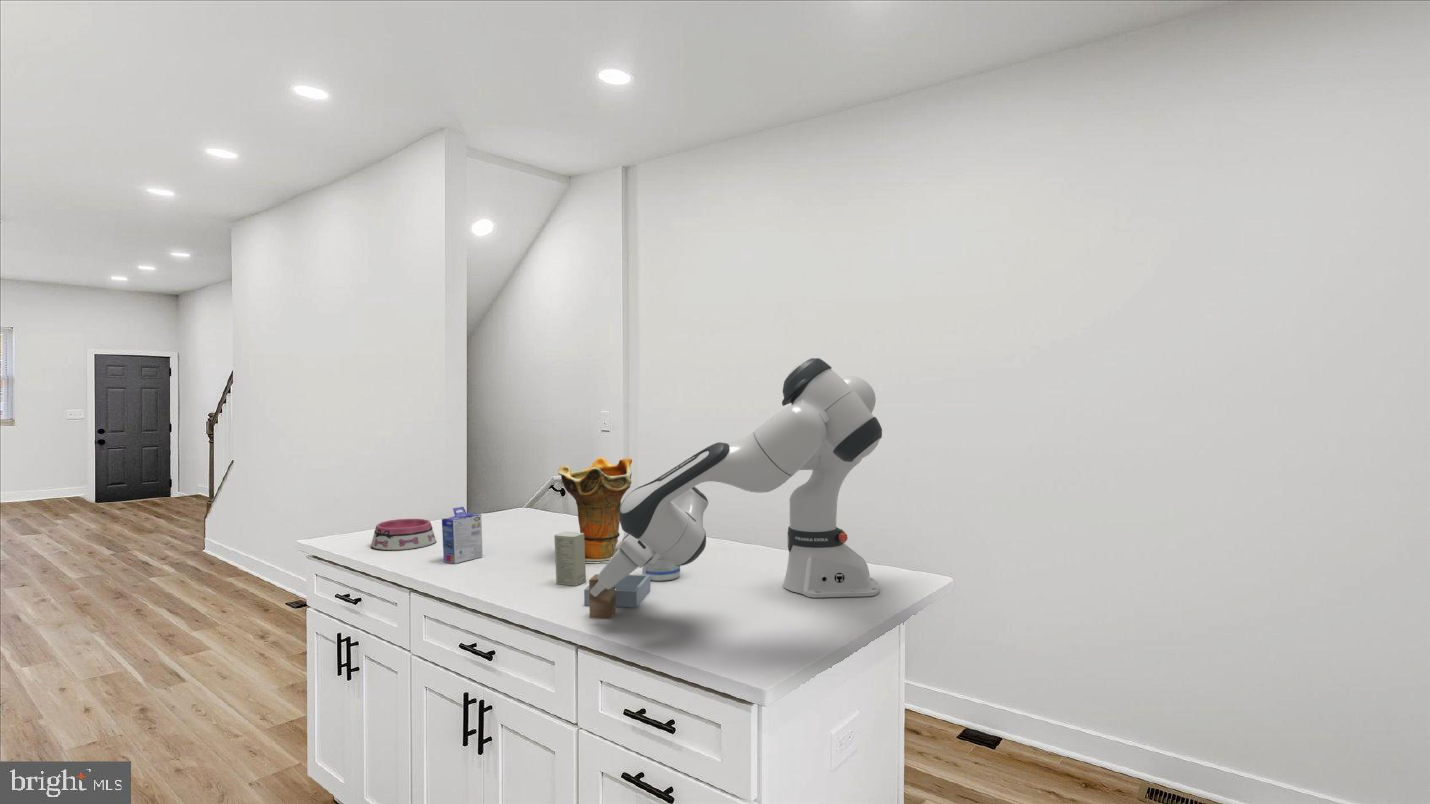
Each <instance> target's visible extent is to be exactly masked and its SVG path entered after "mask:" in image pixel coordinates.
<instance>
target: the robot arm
mask: <svg viewBox="0 0 1430 804" xmlns="http://www.w3.org/2000/svg"><path fill="white" fill-rule="evenodd" d="M782 385H783V387H782V395H783V399H782V400H781V401H782V402H781V404H782V407H785V406H786V405H789V404H791V405H789V406H787V407H785V408H783V409H782V410H780V411H779V412H777V413H776V414H774V415H773V416H772V417H770V418H769V419H767V420H766V421H764V422H763V423H762V424H761V425H759V426H758V427H757V428H756V429H755V430H754V431H753V432H751V433H750V434H748V435H747V436H745V437H743V438H741V439H739V440H736V441H732V442H721V441H720V442H716V443H712V444H711V445H709V446H707V447H705V448H704V449H702V450H700V451H698V452H696V453H695V454H693V455H691V456H690V457H689V458H686V459H685V460H684V461H682V462H681V463H679V464H678V465H676V466H674V467H673V468H671V469H670V470H669V471H667V472H665V473H664V474H662V475H660V476H659V477H657V478H654V480H652V481H650V482H648V483H645V484H643V485H641V486H638V487H636V488H635V489H634V490H632V491H631V492H629V493H628V494H627V495H626V496H625V498H624V499H623V500H622V501H621V505H620V508H619V519H620V523H619V525H620V526H621V530H622V531H623V538H622V540H621V542H619V544H618V547H619V548H618V549H617V552H616V553H615V554H614V555H613V557H612V558H611V559H610V560H609V562H606V564H605V565H604V566H603V568H602V569H601V571H600V572H599V573H598V574H599V575H598V576H597V579H598V580H599V581H598V582H597V583H596V585H595V586H594V587H593V588H592V589H591V590H590V593H591V594H592V595H593V596H594V597H596V596H597V595H598V594H599V593H600V592H602V591H603V590H604V589H605V588H606V589H611V588H612V587H614V586H615V585H617V584H618V583H619V582H620V581H622V580H623V579H624V578H625V577H627V576H628V575H631V574H632V572H634V571H635V570H636V569H638V568H640V569H641V568H642V566H644V565H646V564H649V563H654V562H655V561H656V560H657V559H658V558H659V557H660V556H662V557H663V558H665V559H666V560H668V561H669V562H670V563H672V564H675V565H676V566H680V567H682V566H687V565H689V564H691V563H693V562H694V561H695V560H697V559H698V558H699V557H700V555H701V554H702V553H703V552H704V550H705V549H706V545H707V534H706V530H705V529H704V514H705V512H706V510H707V507H708V506H709V500H708V498H707V496H706V495H705V494H704V493H703V492H701V491H700V489H698V488H697V487H696V486H697V485H699V484H702V483H705V482H715V483H721V484H725V485H729V486H732V487H735V488H738V489H740V490H743V491H747V492H750V493H761V494H762V493H763V494H764V493H769V492H772V491H774V490H776V489H778V488H779V487H781V486H782V485H783V484H785V483H786V482H787V481H789V480H790V478H792V477H793V476H794V475H796V473H798V472H799V471H812V472H811V475H810V476H809V479H808V480H807V481H806V482H805V483H803V484H801V485H800V486H798V487H796V488H795V489H794V490H793V491H792V493H791V495H790V497H789V526H788V527H787V528H788V529H787V532H786V533H787V536H786V539H787V541H786V542H787V550H788V558H787V559H788V560H787V565H786V572H785V576H784V581H783V584H782V587H783V588H784V589H786V590H787V591H790V592H794V593H798V594H802V595H804V596H805V597H808V598H814V599H815V598H850V597H853V598H854V597H855V598H856V597H857V598H858V597H875V596H876V595H878V594H879V593H880V585H879V582H878V580H876V579H875V578H873V577H871V574H870V569H869V566H868V564H867V562H866V559H864V558H863V557H862V556H861V555H860V554H859V553H857V551H855V550H854V549H852V548H851V547H849V546H848V544H846V542H847V541H848V534H847V533H846V531H844V530H843V529H842V528H839V527H838V526H837V515H838V514H837V511H838V510H837V509H838V497H839V493H840V490H841V488H842V484H843V482H844V481H845V478H846V477H847V475H848V474H849V473H850V472H851V471H852V470H853V469H854V468H855V467H856V466H858V465H859V464H860V463H861V461H862V460H863V458H866V457H867V456H869V455H870V454H871V453H873V451H874V450H875V449H876V448H877V447H878V444H879V442H880V440H881V439H882V438H883V429H882V425H881V424H880V422H879V420H878V418H877V416H874V415H873V411H874V409H875V408H876V407H875V406H876V402H877V401H876V399H877V397H876V393H875V391H874V389H873V387H872V385H870V383H868V381H867V380H865V379H863V378H861V377H858V376H846V377H843V378H841V377H840V376H839V375H838V374H837V373H836V372H835V371H834V370H833V369H832V366H831V365H830V364H828V363H827V362H826V361H825V360H823V359H821V358H819V357H816V358H813V357H811V358H810V359H807V360H805V361H802V362H800V363H799V364H797V365H795V366H794V367H793V368H792V369H791V370H790V372H789V373H788V375H787V376H786V378H785V380H784V381H783V384H782Z"/></svg>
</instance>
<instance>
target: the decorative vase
mask: <svg viewBox="0 0 1430 804" xmlns="http://www.w3.org/2000/svg"><path fill="white" fill-rule="evenodd" d="M632 462H633V459H632V458H622V459H620V460H619V461H618V463H617V464H615V465H613V464H611V463H610V462H609V461H607V459H606V458H604V457H602V456H601V457H598V458H596V459H595V460H594V461H593V463H592V464H591V466H590V467H589V466H588V467H587V468H585V469H580V470H573V471H572V470H571V467H570V466H569V465H563V466H560V467H559V468H558V470H557V474H558V475H560V477H561V481H562V484H563V486H564V490H566V492H567V493H568V494H569V495H570V496H571V497H572V498H573V499H574V500H575V503H576V504H575V505H576V507H577V519H578V525H579V533H584V544H585V564H590V563H591V564H599V563H606V564H607V563H608V562H609V560H610V559H611V557H613V555H614V554H615V553H616V552H617V550H618V549H616V546H617V544H618V543H619V540H618V538H619V537H620V532H619V529H620V519H619V508H620V505H621V503H622V499H623V497H624V495H625V494H626V493H627V491H628V490H629V489H630V488H631V487H632V486H631V485H632V474H633V472H632V470H631V466H632V465H631V464H632Z"/></svg>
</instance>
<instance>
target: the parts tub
mask: <svg viewBox="0 0 1430 804" xmlns="http://www.w3.org/2000/svg"><path fill="white" fill-rule="evenodd" d="M615 589H616V590H615V596H616V608H638V606H639V605H640V604H641V602H642V601H643V600H644V599H645V598H646V597H647V595H648V594H649V592H650V591H651V590H650V589H652V588H651V580H650V575H643V574H629V575H628V576H627V577H625V578H624V579H623V580H622V581H620V582H619V583H618V584H617V585H615ZM583 592H584V593H583V595H584V597H583V601H584V602H583V603H584V606H585V607H586V606H587V607H589V585H588V586H587V587H586V588H584V591H583Z"/></svg>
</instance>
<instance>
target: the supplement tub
mask: <svg viewBox="0 0 1430 804" xmlns="http://www.w3.org/2000/svg"><path fill="white" fill-rule="evenodd" d="M641 568H642V575H650V581H653V582H654V581H655V582H661V581H662V582H663V581H671V580H675V579H677V578H679V576H680V575H681V566H676V565H675V564H672V563H670V562H669V561H668V560H666V559H665V558H663V557H662V556H660V557H659V558H658V559H657V560H656V561H655V562H654V563H649V564H646V565H644V566H642V567H641Z"/></svg>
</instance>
